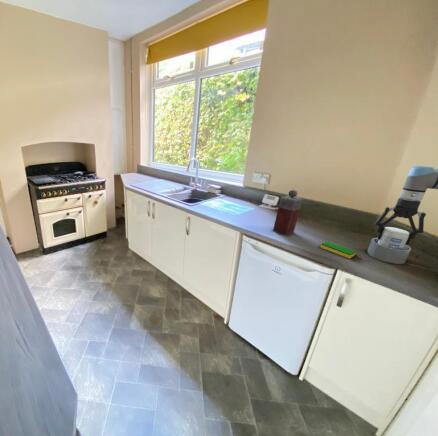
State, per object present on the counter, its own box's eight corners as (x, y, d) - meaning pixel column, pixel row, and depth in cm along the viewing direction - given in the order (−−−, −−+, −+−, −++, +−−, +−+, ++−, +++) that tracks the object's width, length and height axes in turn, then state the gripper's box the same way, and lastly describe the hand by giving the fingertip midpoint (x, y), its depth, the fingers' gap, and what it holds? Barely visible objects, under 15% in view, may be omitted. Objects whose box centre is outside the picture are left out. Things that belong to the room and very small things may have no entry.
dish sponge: (325, 244, 135) (327, 240, 135) (355, 255, 125) (356, 251, 124) (319, 247, 132) (321, 243, 131) (349, 258, 121) (351, 254, 120)
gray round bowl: (402, 255, 125) (408, 243, 122) (407, 267, 114) (413, 253, 111) (366, 247, 133) (371, 235, 131) (367, 257, 123) (372, 244, 120)
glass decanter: (295, 232, 152) (307, 190, 141) (286, 236, 146) (297, 192, 135) (281, 227, 158) (291, 187, 148) (272, 231, 153) (282, 189, 142)
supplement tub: (385, 260, 119) (397, 234, 114) (368, 251, 128) (378, 226, 123) (403, 260, 119) (416, 234, 114) (385, 251, 128) (396, 226, 123)
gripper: (379, 196, 116) (363, 237, 124) (447, 205, 103) (425, 250, 111) (378, 193, 122) (363, 233, 130) (442, 201, 109) (422, 245, 117)
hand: (392, 241), depth 120 cm, fingers closed on supplement tub, 9 cm apart
